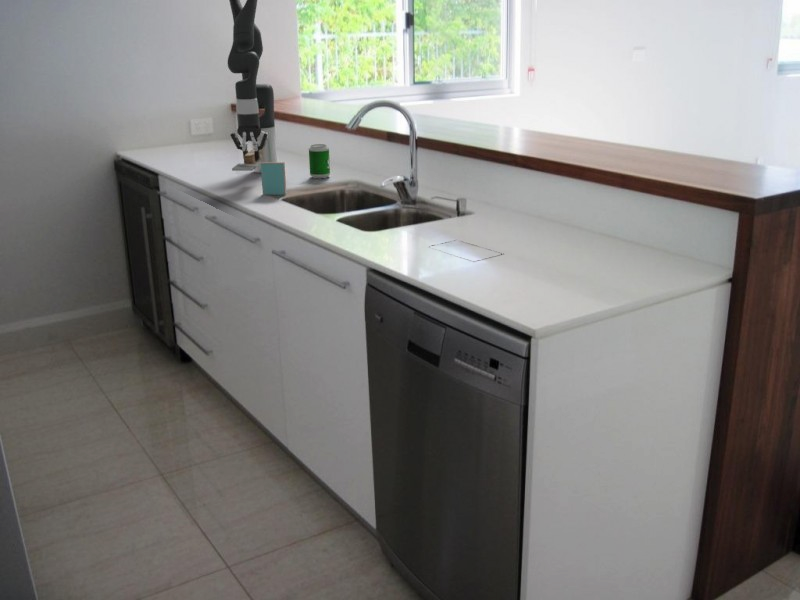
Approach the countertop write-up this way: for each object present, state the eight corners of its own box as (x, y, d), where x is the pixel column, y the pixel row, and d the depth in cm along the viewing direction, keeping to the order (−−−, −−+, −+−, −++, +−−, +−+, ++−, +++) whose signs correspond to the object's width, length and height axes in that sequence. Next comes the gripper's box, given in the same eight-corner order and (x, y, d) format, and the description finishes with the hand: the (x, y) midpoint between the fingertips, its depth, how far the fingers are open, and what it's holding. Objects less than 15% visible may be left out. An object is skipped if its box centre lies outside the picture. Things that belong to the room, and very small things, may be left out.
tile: (263, 194, 272) (261, 162, 268) (286, 194, 271) (284, 162, 267) (262, 194, 270) (260, 162, 267) (285, 195, 270) (283, 162, 266)
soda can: (326, 179, 295) (325, 147, 291) (307, 178, 296) (305, 146, 292) (332, 175, 302) (331, 144, 298) (313, 175, 303) (312, 143, 299)
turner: (249, 158, 290) (248, 148, 289) (267, 158, 290) (267, 148, 288) (232, 170, 270) (231, 160, 268) (252, 170, 269) (251, 160, 268)
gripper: (270, 110, 278) (273, 159, 284) (231, 110, 279) (235, 159, 285) (264, 113, 271) (268, 163, 277) (224, 113, 272) (229, 163, 278)
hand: (251, 160), depth 281 cm, fingers closed on turner, 3 cm apart
